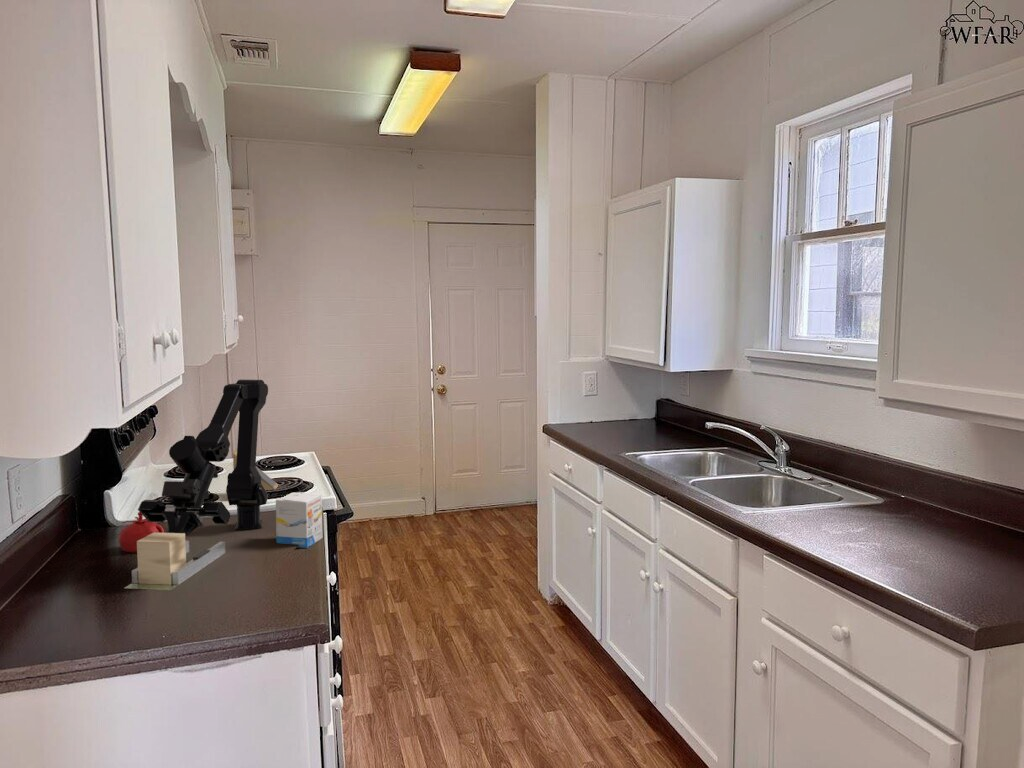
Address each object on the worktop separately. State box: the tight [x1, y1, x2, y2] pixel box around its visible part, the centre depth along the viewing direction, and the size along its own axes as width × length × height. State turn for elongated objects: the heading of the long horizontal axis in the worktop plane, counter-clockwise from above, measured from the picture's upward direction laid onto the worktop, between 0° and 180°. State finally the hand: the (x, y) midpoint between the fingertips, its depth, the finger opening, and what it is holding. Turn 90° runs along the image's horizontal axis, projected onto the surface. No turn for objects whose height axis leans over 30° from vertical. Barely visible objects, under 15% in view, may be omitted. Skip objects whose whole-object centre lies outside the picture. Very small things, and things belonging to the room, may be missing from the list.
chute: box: [124, 539, 226, 591], centre depth 154 cm, size 26×14×4 cm, turn 176°
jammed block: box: [136, 532, 187, 585], centre depth 147 cm, size 6×7×9 cm
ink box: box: [275, 491, 323, 549], centre depth 174 cm, size 9×8×12 cm
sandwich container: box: [232, 448, 279, 490], centre depth 219 cm, size 9×15×15 cm, turn 107°
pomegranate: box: [118, 511, 165, 554], centre depth 167 cm, size 10×10×9 cm
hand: (170, 546), depth 150 cm, fingers closed
